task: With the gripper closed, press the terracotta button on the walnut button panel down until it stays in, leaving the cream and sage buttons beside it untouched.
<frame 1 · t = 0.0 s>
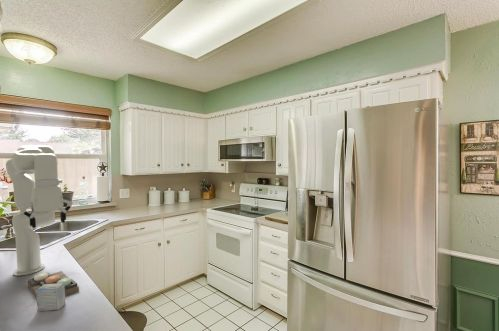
hand: (48, 224, 105), 31 cm above the countertop, tool pointing down, fingers open, 9 cm apart
medicine box: (51, 308, 99), on the countertop
button panel: (52, 288, 115), on the countertop
terracotta button: (52, 279, 115), point 4 cm above the countertop, slide at 0.0 cm
cream button: (41, 277, 118), point 4 cm above the countertop, slide at 0.0 cm
sage button: (64, 282, 112), point 4 cm above the countertop, slide at 0.0 cm
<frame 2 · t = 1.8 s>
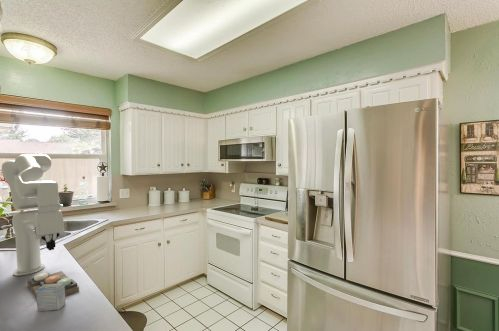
hand: (51, 249, 114), 18 cm above the countertop, tool pointing down, fingers closed
nothing on the countertop moved.
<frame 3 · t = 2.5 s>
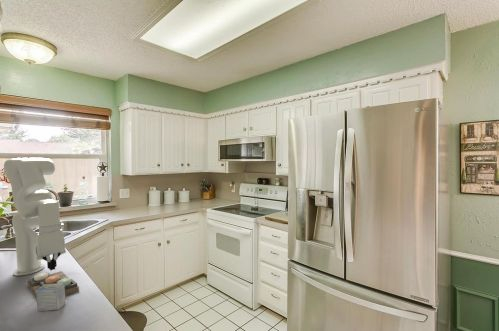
hand: (52, 269, 114), 9 cm above the countertop, tool pointing down, fingers closed
nothing on the countertop moved.
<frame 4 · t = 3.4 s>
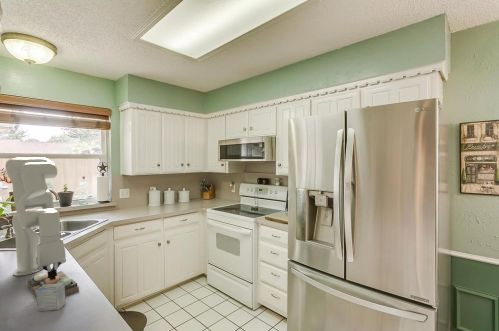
hand: (52, 278, 115), 4 cm above the countertop, tool pointing down, fingers closed
terracotta button: (52, 280, 115), point 3 cm above the countertop, slide at 0.4 cm, touching gripper
everything else where it was.
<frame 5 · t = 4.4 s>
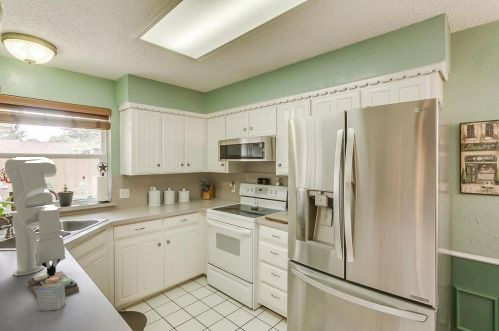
hand: (51, 275, 115), 6 cm above the countertop, tool pointing down, fingers closed
terracotta button: (52, 281, 115), point 3 cm above the countertop, slide at 0.8 cm, touching button panel
everything else where it was.
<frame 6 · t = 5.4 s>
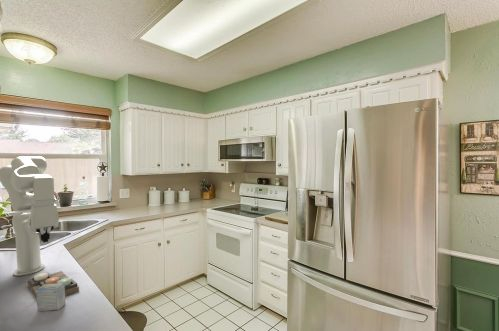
hand: (45, 241, 119), 20 cm above the countertop, tool pointing down, fingers closed
nothing on the countertop moved.
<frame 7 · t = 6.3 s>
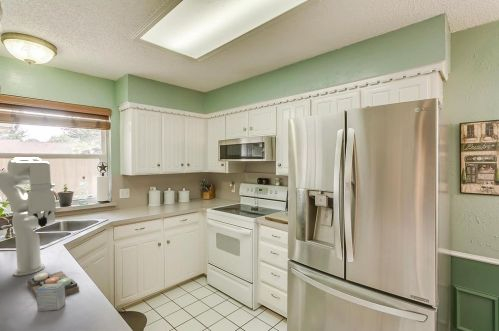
hand: (42, 226, 120), 27 cm above the countertop, tool pointing down, fingers closed
nothing on the countertop moved.
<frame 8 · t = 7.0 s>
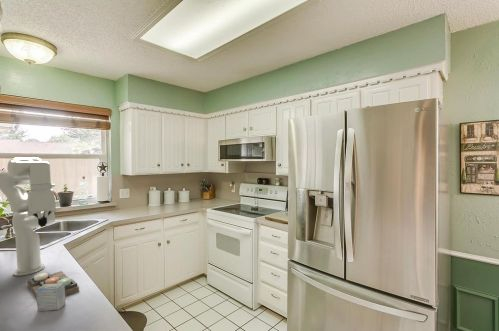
hand: (42, 226, 120), 27 cm above the countertop, tool pointing down, fingers closed
nothing on the countertop moved.
at the end: terracotta button slide at 0.8 cm; cream button slide at 0.0 cm; sage button slide at 0.0 cm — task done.
